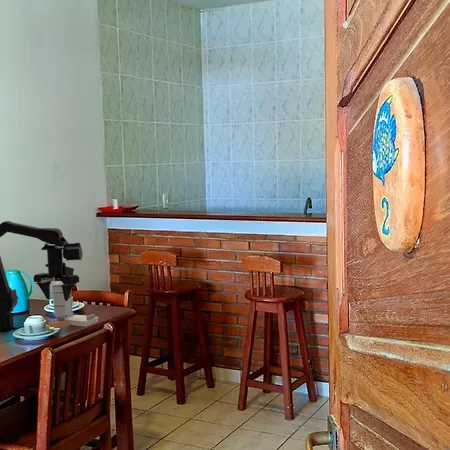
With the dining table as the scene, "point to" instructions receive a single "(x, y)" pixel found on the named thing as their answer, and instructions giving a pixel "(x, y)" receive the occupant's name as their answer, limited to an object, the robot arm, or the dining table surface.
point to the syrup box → (60, 301)
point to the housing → (59, 323)
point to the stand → (81, 319)
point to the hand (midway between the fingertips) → (57, 300)
